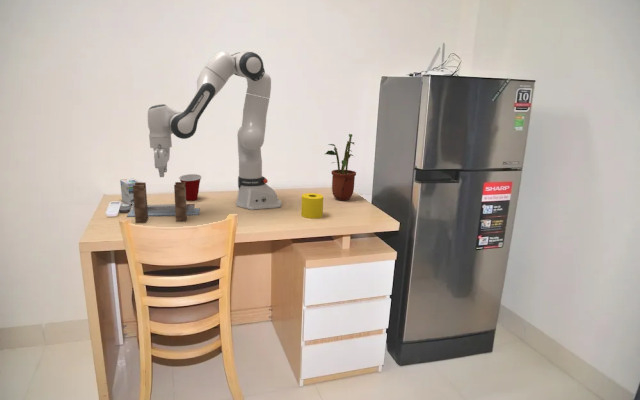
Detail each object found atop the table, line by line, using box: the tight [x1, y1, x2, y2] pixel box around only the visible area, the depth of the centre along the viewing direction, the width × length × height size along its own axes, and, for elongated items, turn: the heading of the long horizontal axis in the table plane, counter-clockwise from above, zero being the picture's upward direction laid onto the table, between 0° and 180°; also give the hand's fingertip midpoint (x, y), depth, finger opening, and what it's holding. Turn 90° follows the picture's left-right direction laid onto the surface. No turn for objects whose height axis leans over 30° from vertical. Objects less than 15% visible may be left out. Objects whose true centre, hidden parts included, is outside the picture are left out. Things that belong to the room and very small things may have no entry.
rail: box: [132, 203, 196, 214], centre depth 188 cm, size 26×3×3 cm, turn 103°
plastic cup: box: [178, 173, 202, 202], centre depth 210 cm, size 11×11×12 cm
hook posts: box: [133, 181, 188, 224], centre depth 177 cm, size 20×6×16 cm, turn 103°
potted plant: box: [324, 133, 357, 201], centre depth 219 cm, size 17×16×35 cm
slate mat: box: [126, 207, 201, 218], centre depth 189 cm, size 30×9×1 cm, turn 103°
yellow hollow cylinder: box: [300, 192, 324, 220], centre depth 194 cm, size 10×10×9 cm
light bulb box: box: [119, 177, 141, 206], centre depth 201 cm, size 11×7×11 cm, turn 44°
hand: (163, 174), depth 184 cm, fingers open, 8 cm apart
